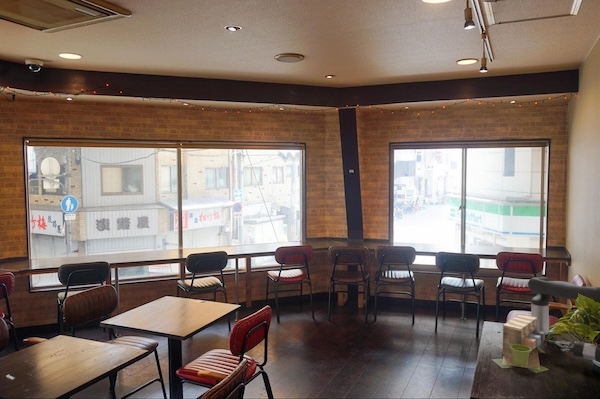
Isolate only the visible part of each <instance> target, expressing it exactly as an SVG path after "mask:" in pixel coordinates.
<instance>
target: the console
mask: <svg viewBox="0 0 600 399" xmlns="http://www.w3.org/2000/svg"><path fill="white" fill-rule="evenodd" d="M534 330H537V317H532V316H531V315H525V314H522V313H521V314H518V315H516V316H515V317H514V318H512V319H510V320H508V321H506V322H505V323H504V324H503V325H502V356H503V357H506V358H507V357H508V358H512V359H513V354H512V350H511V348H510V346H511V345H514V344H520V345H523V338H524V337H527V338H528V334H532V331H534ZM537 346H538V345H536V348H537ZM533 350H534V349H531V351H530V353H531V352H532V351H533Z"/></svg>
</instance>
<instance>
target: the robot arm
mask: <svg viewBox="0 0 600 399" xmlns="http://www.w3.org/2000/svg"><path fill="white" fill-rule="evenodd" d="M527 287H528V290H529V291H531V292H532V293H534V294H536V295H535V296H534V297H532V298H531V302H530V303H531V306H530V307H531V308H530V309H531V312H530V313H531V314H530V316H532V317H537V331H542V332H545V336H546V335H548V334H549V332H550V316H549V311H550V308H549V306H550V301H551V297H552V296H553V297H557V298H561V299H566V300H571V301H577V300H576V299H577V297H578V293H579V294H581V295H583V296H586V297H588V298H591V299H593V300H594V301H595V302H598V303H600V287H599V286H582V285H581V286H580V285H579V284H576V283H574V282H570V281H563V280H561V281H560V280H550V278H548V277H546V276H538V277H537V276H536V277H535V276H534V277H532V278H530V279H528V282H527ZM546 345H547V346H551V347H554V348H555V349H556V350H558V351H559V352H561V353H565V352H567V353H572V354H573V356H574V357H576V358H580V359H585V360H590V361H596V362H600V348H599V347H597V346H598V345H596V344H593V343H588V342H583V341H579V340H575V341H574V343H572V341H571V340H560V339H559V340H556V341H555V340H552V339H551V340H550V339H547V341H546ZM595 345H596V346H595Z"/></svg>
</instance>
